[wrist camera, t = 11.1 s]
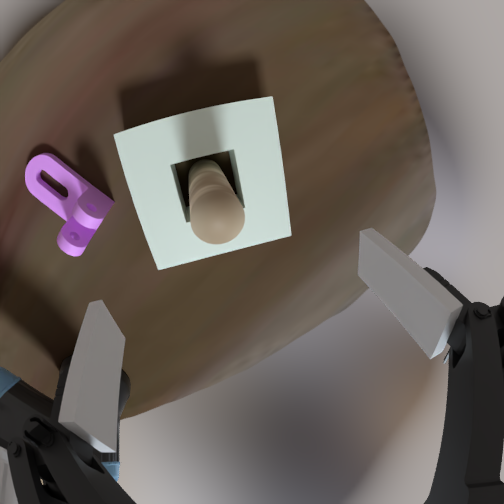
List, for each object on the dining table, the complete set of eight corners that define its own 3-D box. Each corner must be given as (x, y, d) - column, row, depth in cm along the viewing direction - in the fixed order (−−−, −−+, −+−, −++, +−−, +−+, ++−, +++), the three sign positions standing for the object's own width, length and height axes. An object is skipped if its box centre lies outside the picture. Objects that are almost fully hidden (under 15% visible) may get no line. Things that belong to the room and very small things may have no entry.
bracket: (115, 201, 31) (100, 223, 25) (93, 234, 32) (77, 261, 26) (41, 144, 25) (13, 155, 19) (24, 180, 26) (-4, 197, 20)
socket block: (161, 249, 35) (158, 270, 31) (124, 130, 27) (113, 134, 23) (278, 219, 37) (291, 235, 33) (259, 98, 29) (272, 96, 24)
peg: (192, 195, 33) (198, 250, 21) (185, 164, 31) (184, 201, 19) (224, 187, 33) (249, 236, 21) (218, 155, 31) (239, 187, 19)
